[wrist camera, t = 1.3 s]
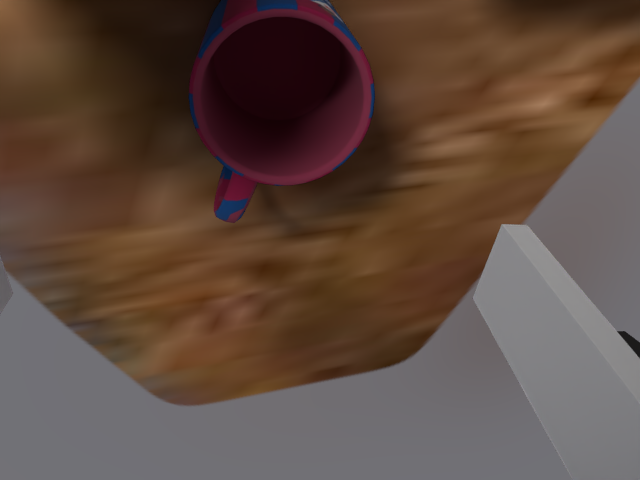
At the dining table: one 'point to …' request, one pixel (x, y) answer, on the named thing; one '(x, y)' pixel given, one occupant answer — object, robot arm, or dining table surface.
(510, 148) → the dining table surface
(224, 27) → the mug
